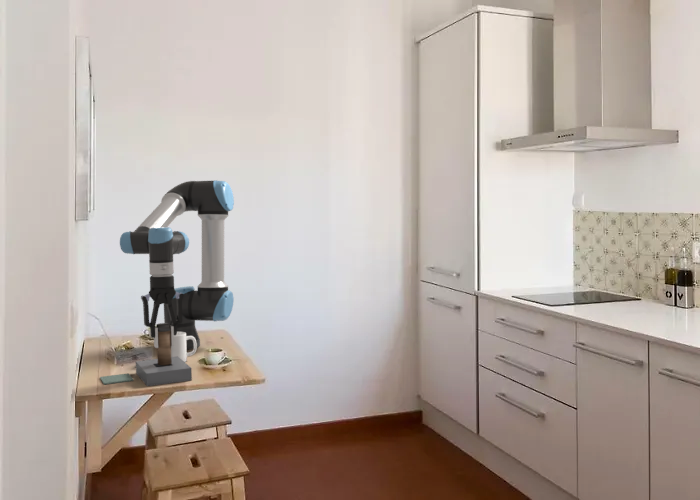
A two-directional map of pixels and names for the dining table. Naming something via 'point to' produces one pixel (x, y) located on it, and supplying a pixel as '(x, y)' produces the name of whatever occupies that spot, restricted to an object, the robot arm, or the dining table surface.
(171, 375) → the socket block
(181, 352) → the cup
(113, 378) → the mat
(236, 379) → the dining table surface
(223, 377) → the dining table surface
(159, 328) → the plug
